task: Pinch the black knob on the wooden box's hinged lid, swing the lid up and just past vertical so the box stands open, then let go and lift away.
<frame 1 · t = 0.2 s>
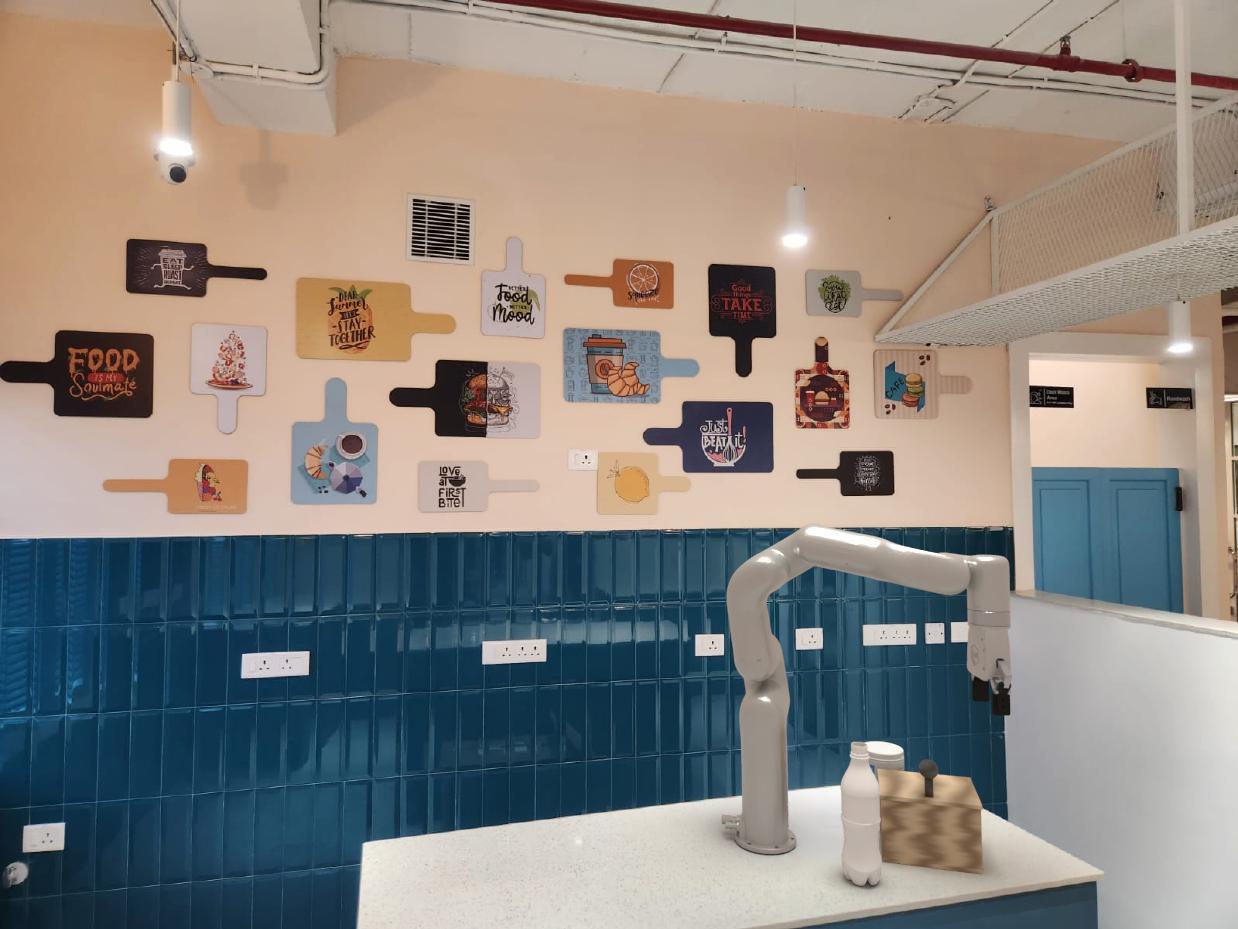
hand: (990, 707, 147), 31 cm above the counter, tool pointing down, fingers open, 9 cm apart
supplement tub: (882, 813, 172), on the counter
water bottle: (861, 880, 142), on the counter
lid: (926, 770, 154), point 16 cm above the counter, hinge at 0.0°
wooden box: (927, 850, 153), on the counter
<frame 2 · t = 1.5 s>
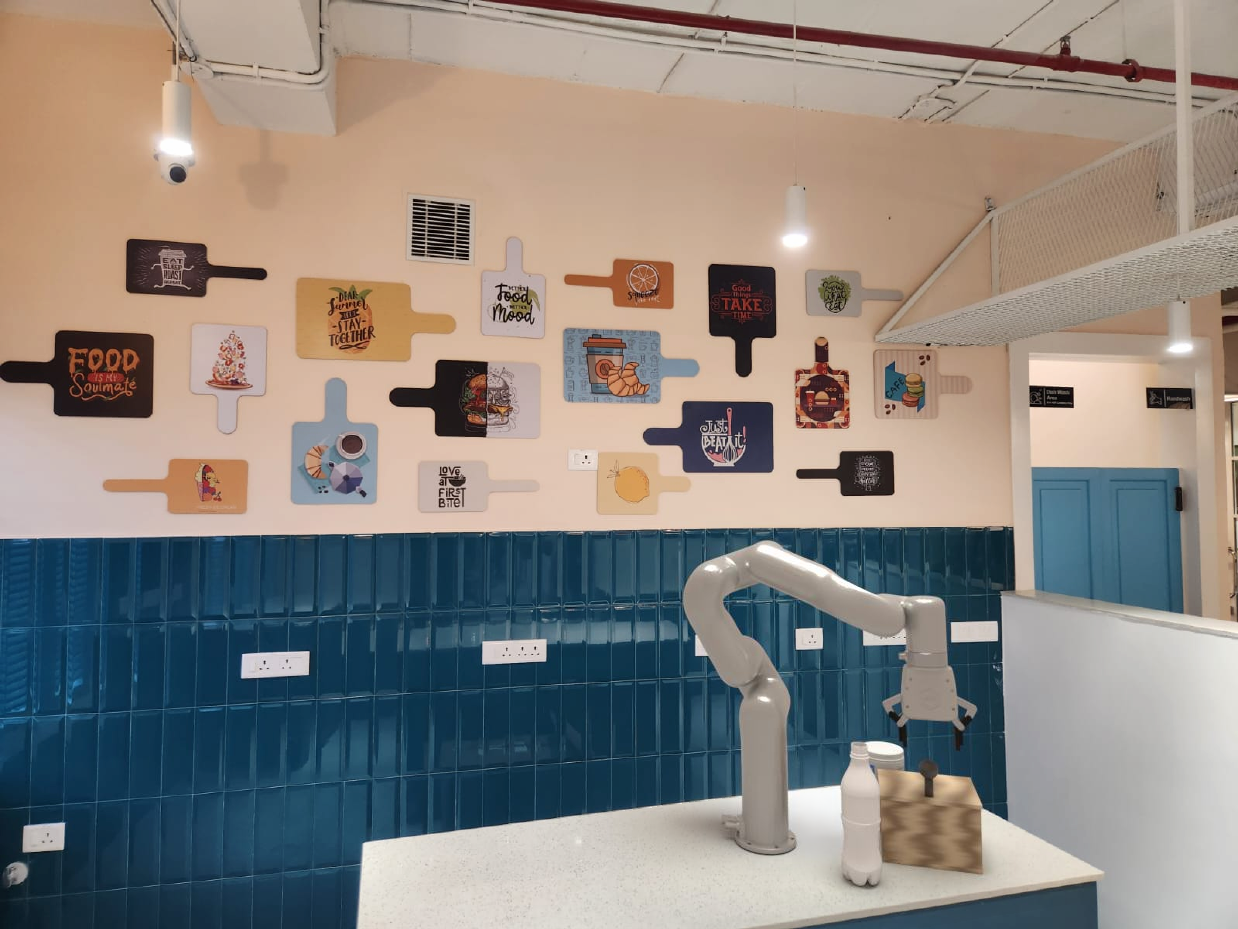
hand: (930, 747, 149), 22 cm above the counter, tool pointing down, fingers open, 9 cm apart
nothing on the counter moved.
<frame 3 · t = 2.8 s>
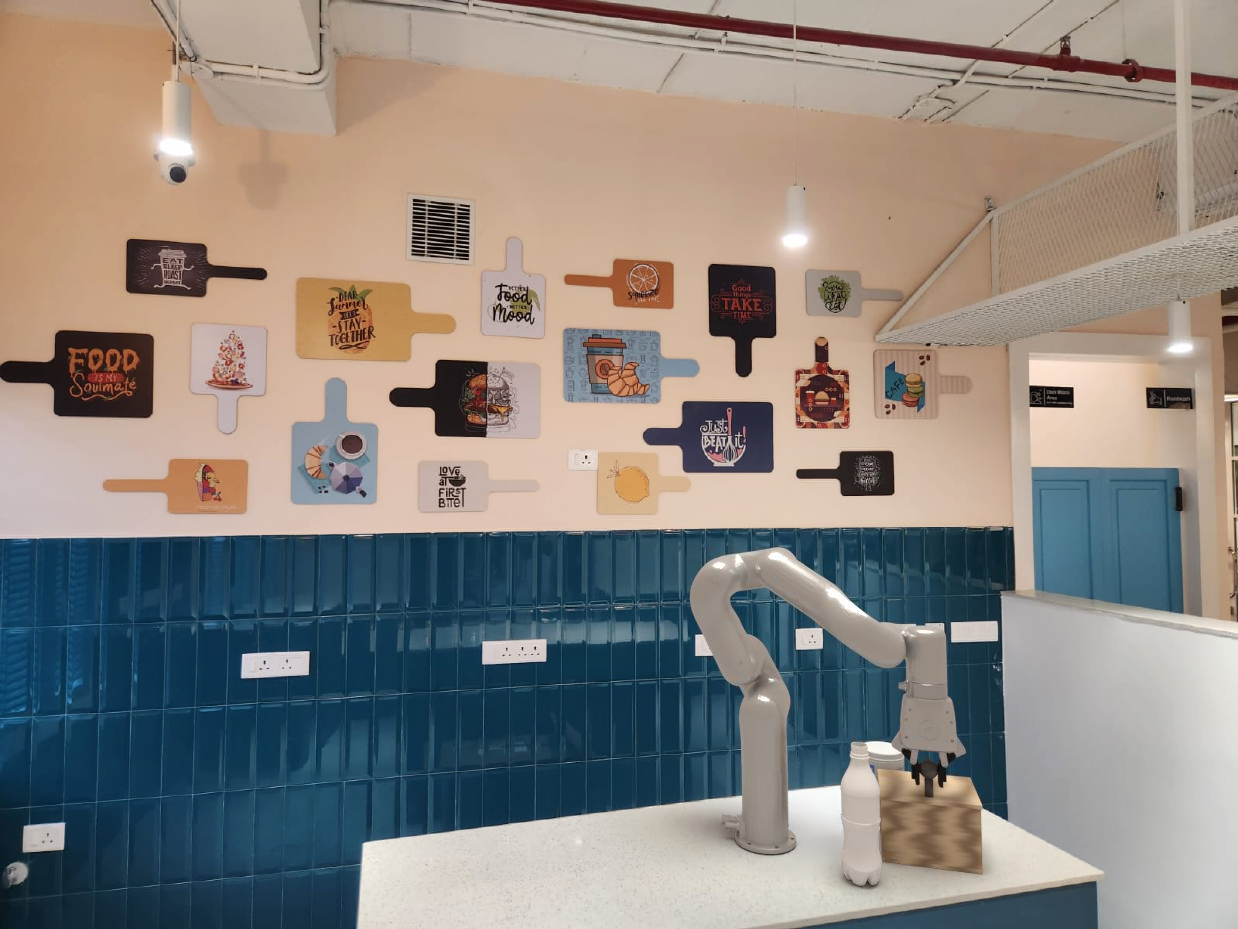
hand: (928, 783, 149), 15 cm above the counter, tool pointing down, fingers closed on lid, 3 cm apart
lid: (926, 770, 154), point 16 cm above the counter, hinge at 0.0°, touching gripper
everything else where it was.
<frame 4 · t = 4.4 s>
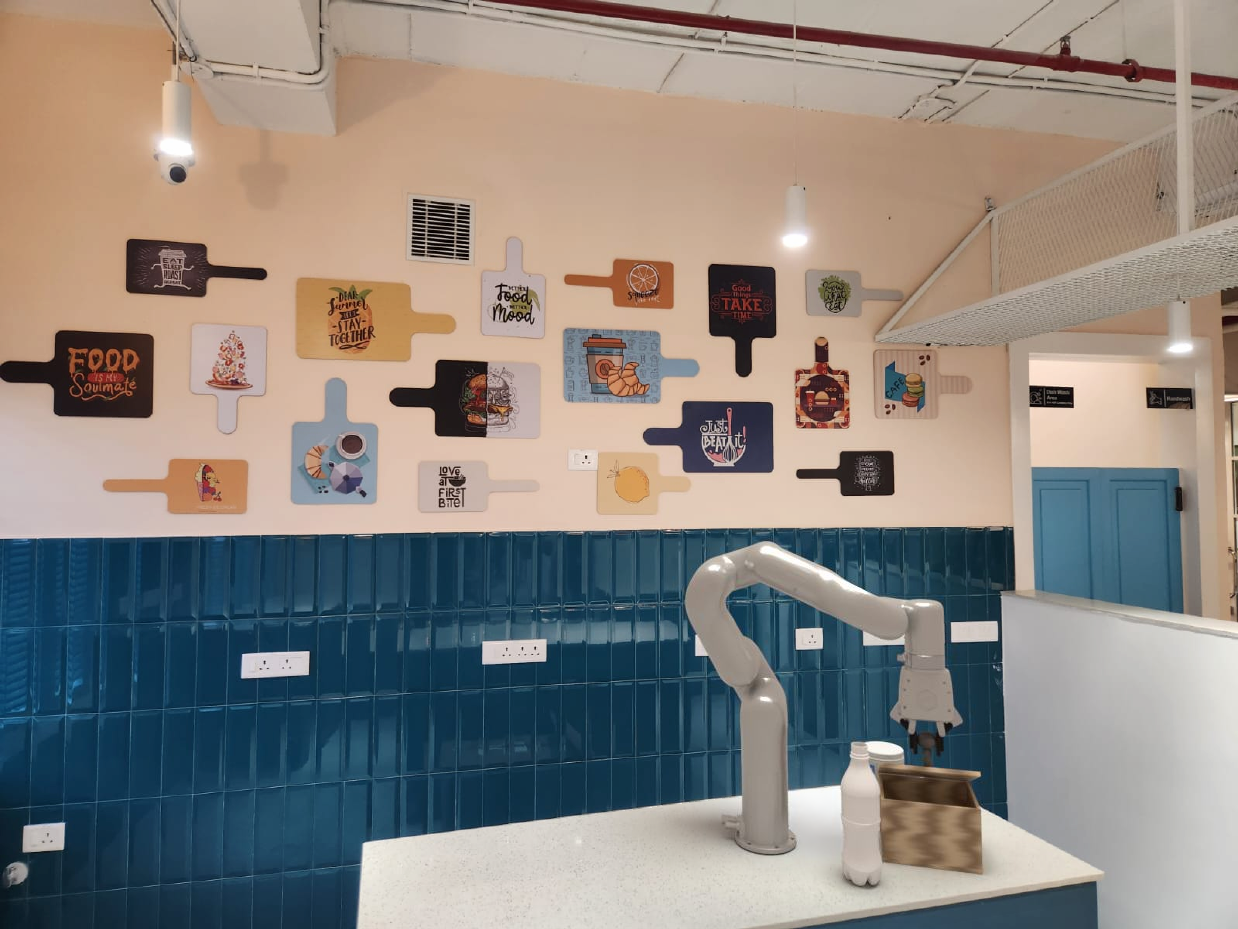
hand: (926, 752, 153), 20 cm above the counter, tool pointing down, fingers closed on lid, 3 cm apart
lid: (924, 754, 156), point 19 cm above the counter, hinge at 22.9°, touching gripper
everything else where it was.
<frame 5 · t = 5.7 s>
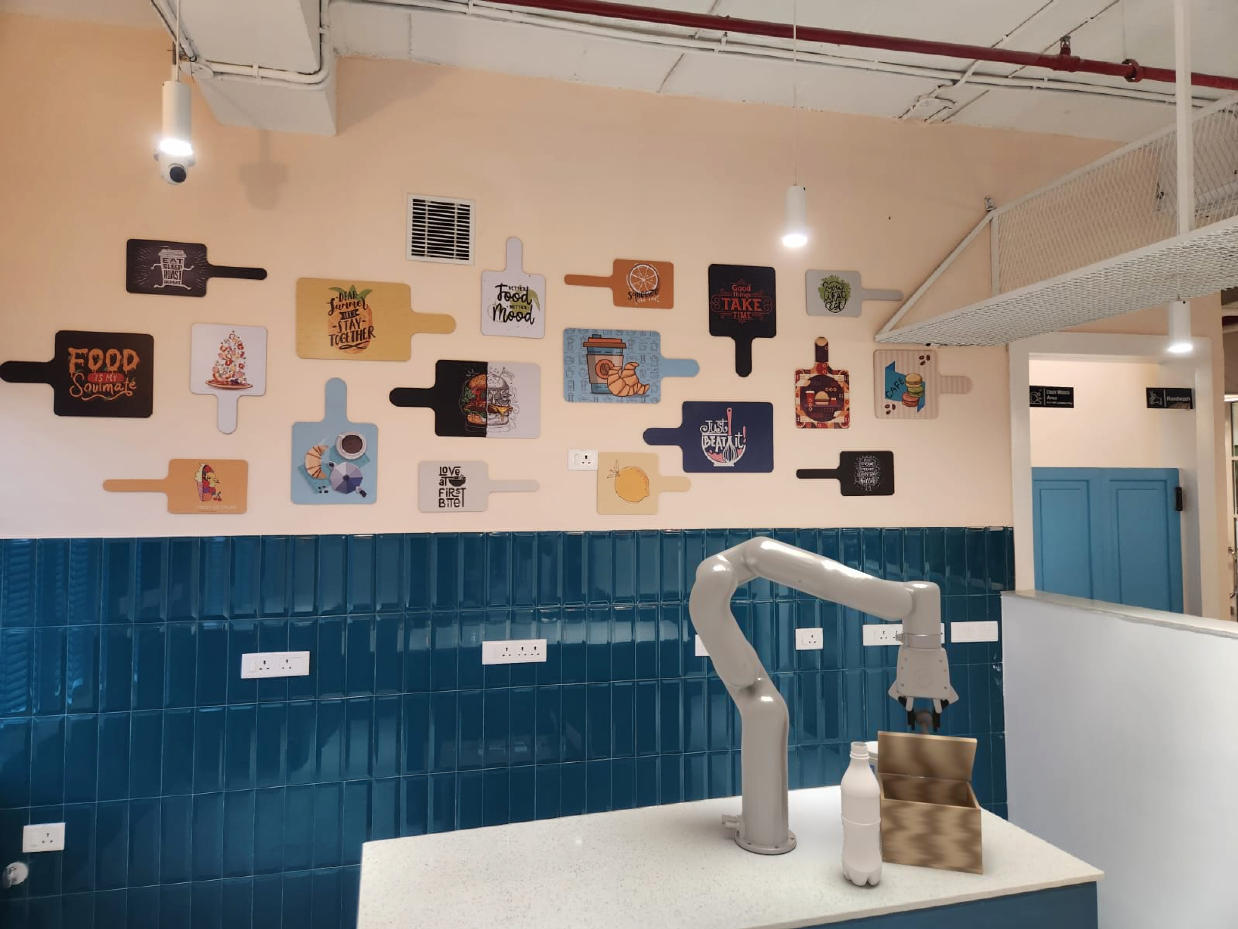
hand: (923, 728, 158), 23 cm above the counter, tool pointing down, fingers closed on lid, 3 cm apart
lid: (923, 741, 159), point 20 cm above the counter, hinge at 47.1°, touching gripper
everything else where it was.
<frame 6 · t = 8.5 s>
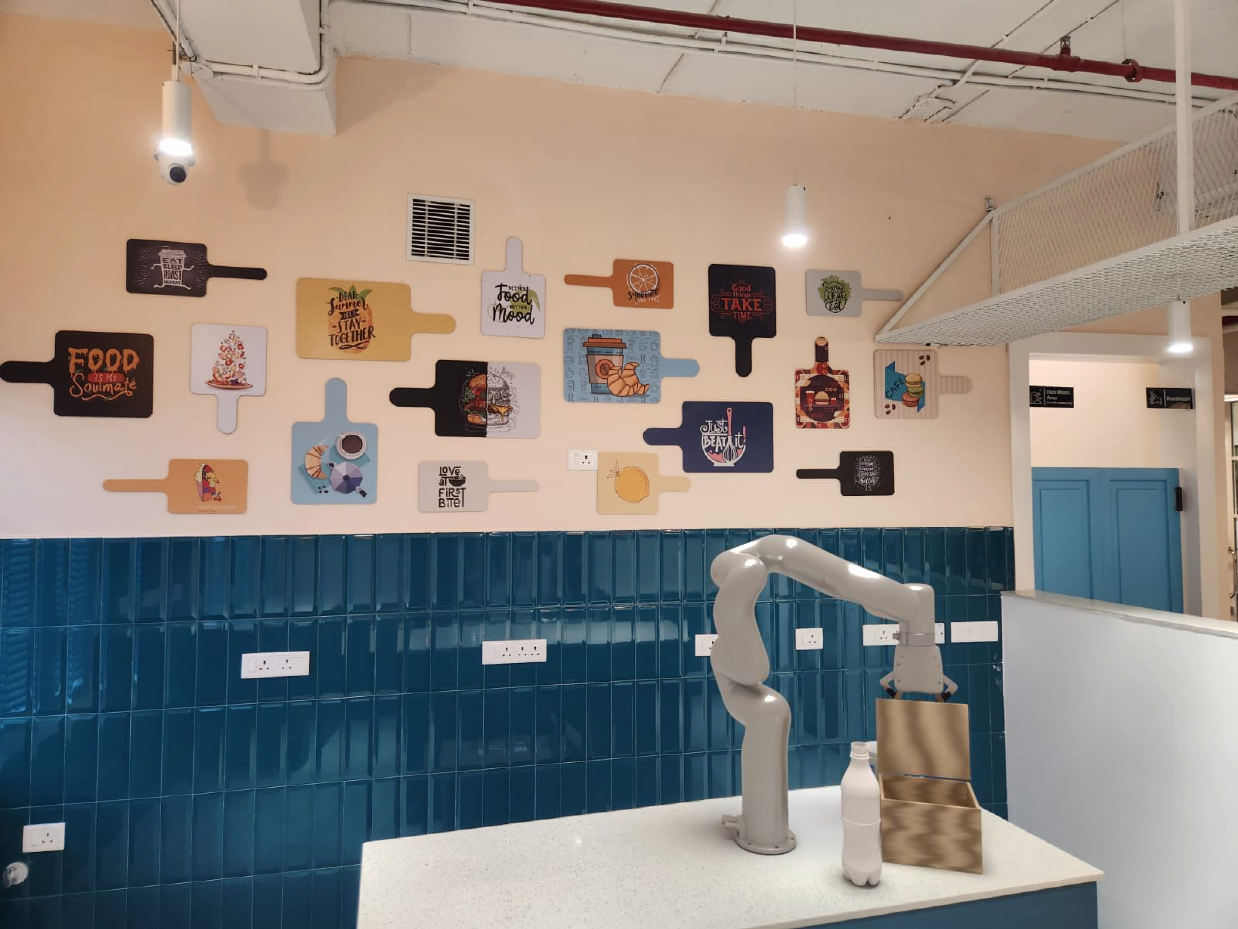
hand: (918, 719, 169), 22 cm above the counter, tool pointing down, fingers open, 7 cm apart
lid: (920, 734, 165), point 20 cm above the counter, hinge at 93.7°
everything else where it was.
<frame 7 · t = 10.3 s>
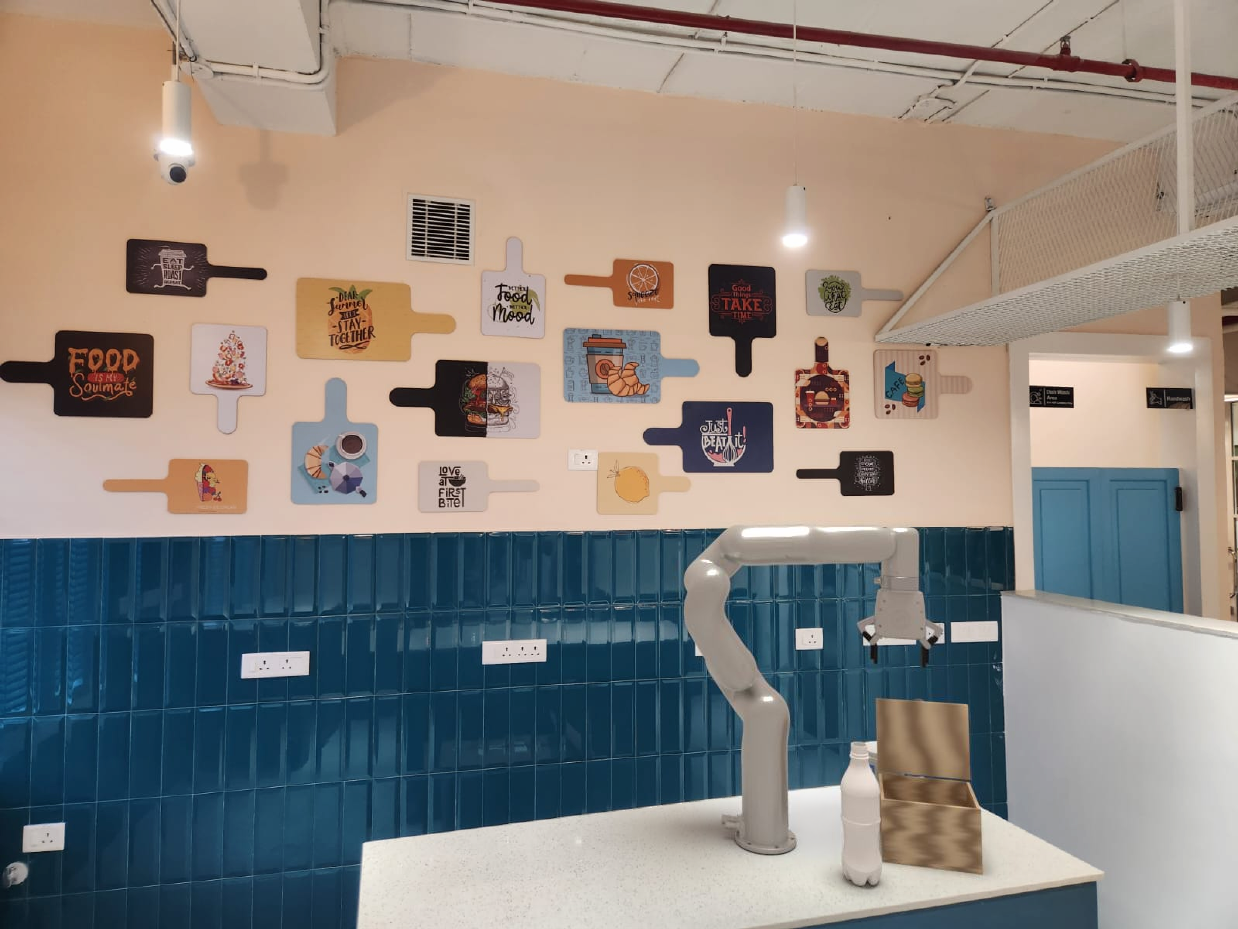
hand: (899, 664, 162), 36 cm above the counter, tool pointing down, fingers open, 9 cm apart
nothing on the counter moved.
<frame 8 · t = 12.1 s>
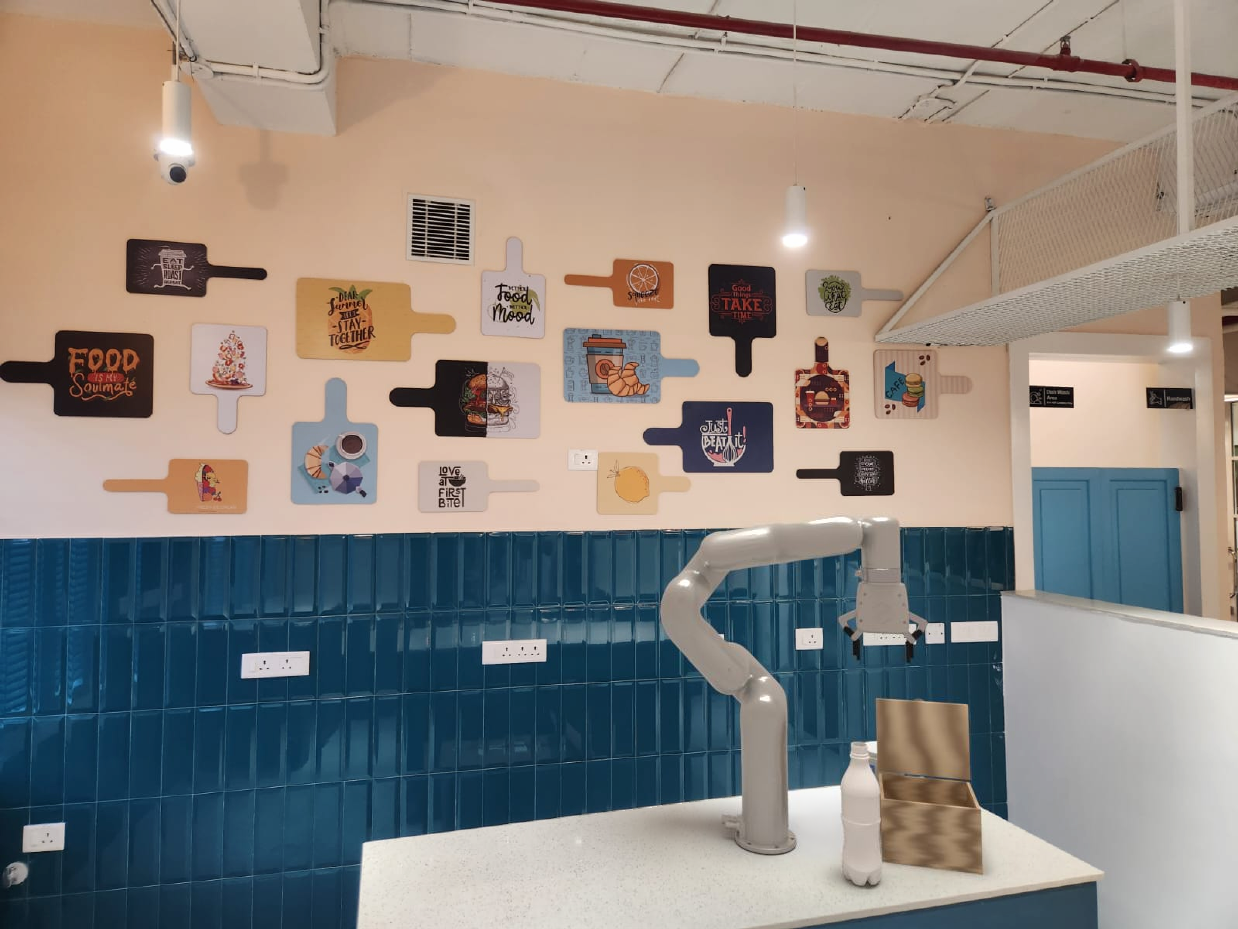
hand: (882, 660, 155), 38 cm above the counter, tool pointing down, fingers open, 9 cm apart
nothing on the counter moved.
at the end: lid at +94° (first picture: +0°); the gripper is holding nothing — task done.
